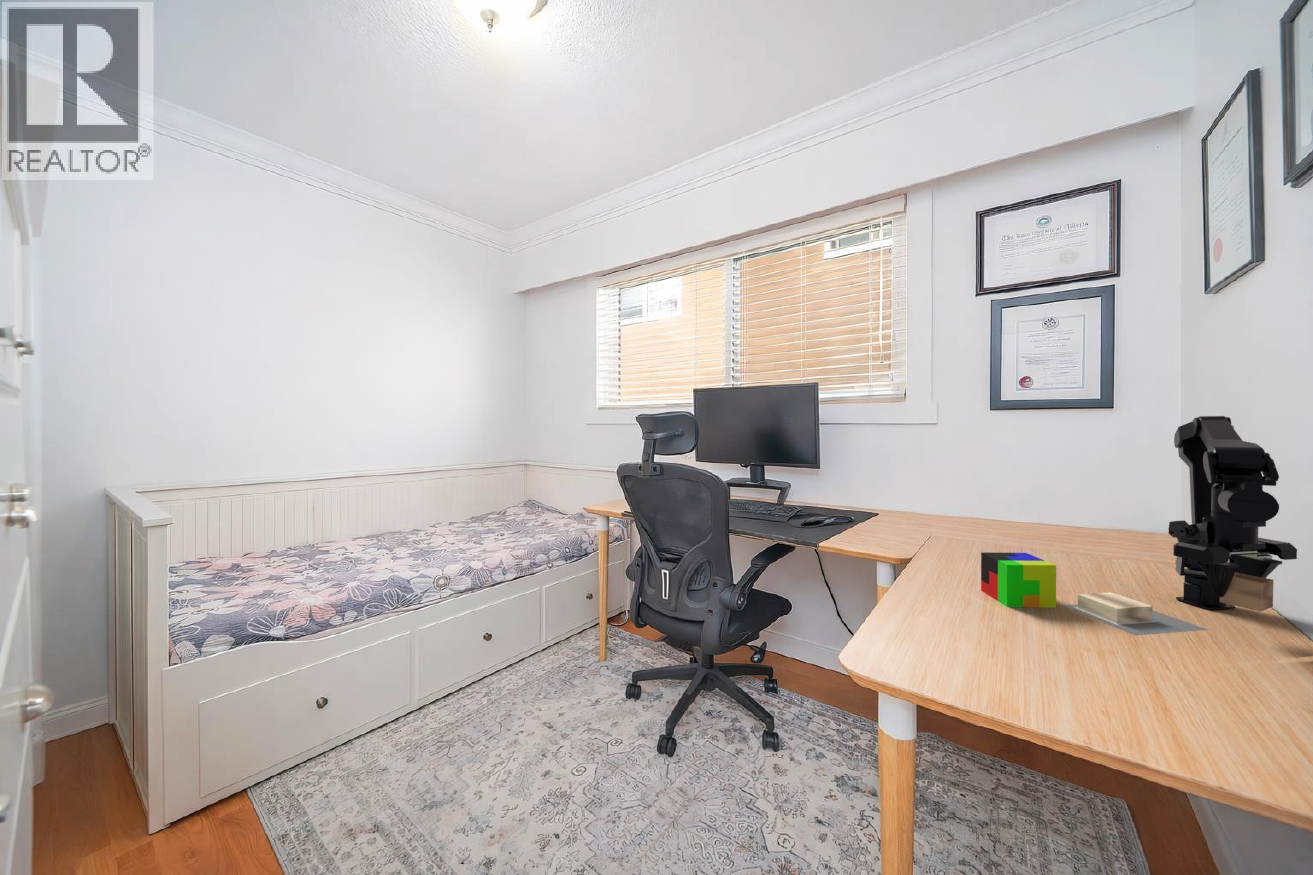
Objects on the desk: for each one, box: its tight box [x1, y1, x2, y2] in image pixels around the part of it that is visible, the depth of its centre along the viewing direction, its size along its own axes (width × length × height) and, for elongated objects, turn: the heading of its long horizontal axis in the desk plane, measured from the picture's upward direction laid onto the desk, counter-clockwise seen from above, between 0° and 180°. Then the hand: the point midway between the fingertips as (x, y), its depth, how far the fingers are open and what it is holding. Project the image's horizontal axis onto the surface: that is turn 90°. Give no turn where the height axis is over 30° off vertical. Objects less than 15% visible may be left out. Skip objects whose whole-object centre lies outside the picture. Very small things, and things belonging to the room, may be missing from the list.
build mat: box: [1060, 603, 1209, 636], centre depth 100 cm, size 16×15×1 cm
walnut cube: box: [1220, 572, 1274, 612], centre depth 89 cm, size 5×5×5 cm
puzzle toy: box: [980, 551, 1057, 608], centre depth 111 cm, size 10×10×10 cm
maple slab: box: [1077, 591, 1153, 623], centre depth 101 cm, size 8×8×3 cm
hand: (1232, 595), depth 91 cm, fingers closed on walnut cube, 5 cm apart
